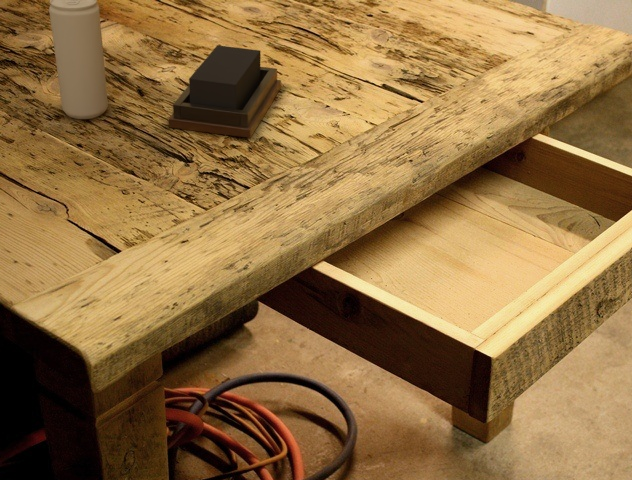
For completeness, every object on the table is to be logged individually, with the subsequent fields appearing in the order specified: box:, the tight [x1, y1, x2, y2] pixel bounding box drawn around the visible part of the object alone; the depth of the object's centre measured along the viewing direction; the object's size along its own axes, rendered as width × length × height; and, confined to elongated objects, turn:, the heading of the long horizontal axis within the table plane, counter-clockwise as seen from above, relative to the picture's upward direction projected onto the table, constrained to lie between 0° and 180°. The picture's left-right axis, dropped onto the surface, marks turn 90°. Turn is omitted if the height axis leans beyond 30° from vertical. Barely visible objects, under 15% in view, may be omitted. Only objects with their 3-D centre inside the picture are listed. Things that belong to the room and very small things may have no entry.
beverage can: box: [48, 0, 109, 120], centre depth 96 cm, size 5×5×12 cm
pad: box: [188, 44, 261, 110], centre depth 100 cm, size 10×5×4 cm, turn 170°
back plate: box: [168, 66, 282, 139], centre depth 101 cm, size 14×9×2 cm, turn 170°
